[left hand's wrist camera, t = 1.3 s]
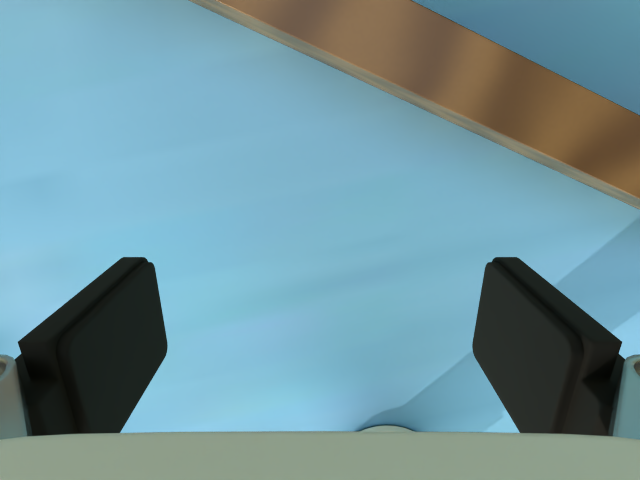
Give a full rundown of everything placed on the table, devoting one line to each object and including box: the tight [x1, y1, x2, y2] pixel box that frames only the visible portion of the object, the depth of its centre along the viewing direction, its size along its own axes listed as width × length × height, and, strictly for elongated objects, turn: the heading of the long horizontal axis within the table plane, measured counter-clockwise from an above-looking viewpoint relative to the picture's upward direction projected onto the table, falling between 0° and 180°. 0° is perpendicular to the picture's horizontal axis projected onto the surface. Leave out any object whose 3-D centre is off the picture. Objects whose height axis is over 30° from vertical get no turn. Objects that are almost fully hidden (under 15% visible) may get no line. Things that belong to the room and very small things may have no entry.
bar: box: [189, 0, 640, 209], centre depth 28 cm, size 77×5×8 cm, turn 67°
